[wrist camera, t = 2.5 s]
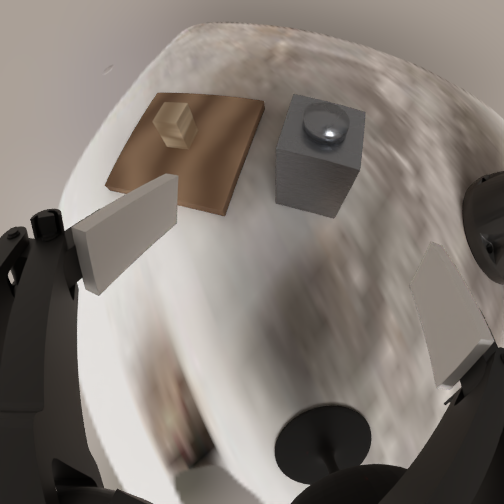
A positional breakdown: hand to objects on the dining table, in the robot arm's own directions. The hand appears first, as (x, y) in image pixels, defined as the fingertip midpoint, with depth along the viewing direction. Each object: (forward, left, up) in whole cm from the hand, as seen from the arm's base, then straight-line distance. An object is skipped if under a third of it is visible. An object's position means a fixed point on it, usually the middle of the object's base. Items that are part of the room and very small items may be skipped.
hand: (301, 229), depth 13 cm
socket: (0, -11, -14) cm, 18 cm away
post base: (+16, -13, -14) cm, 25 cm away
